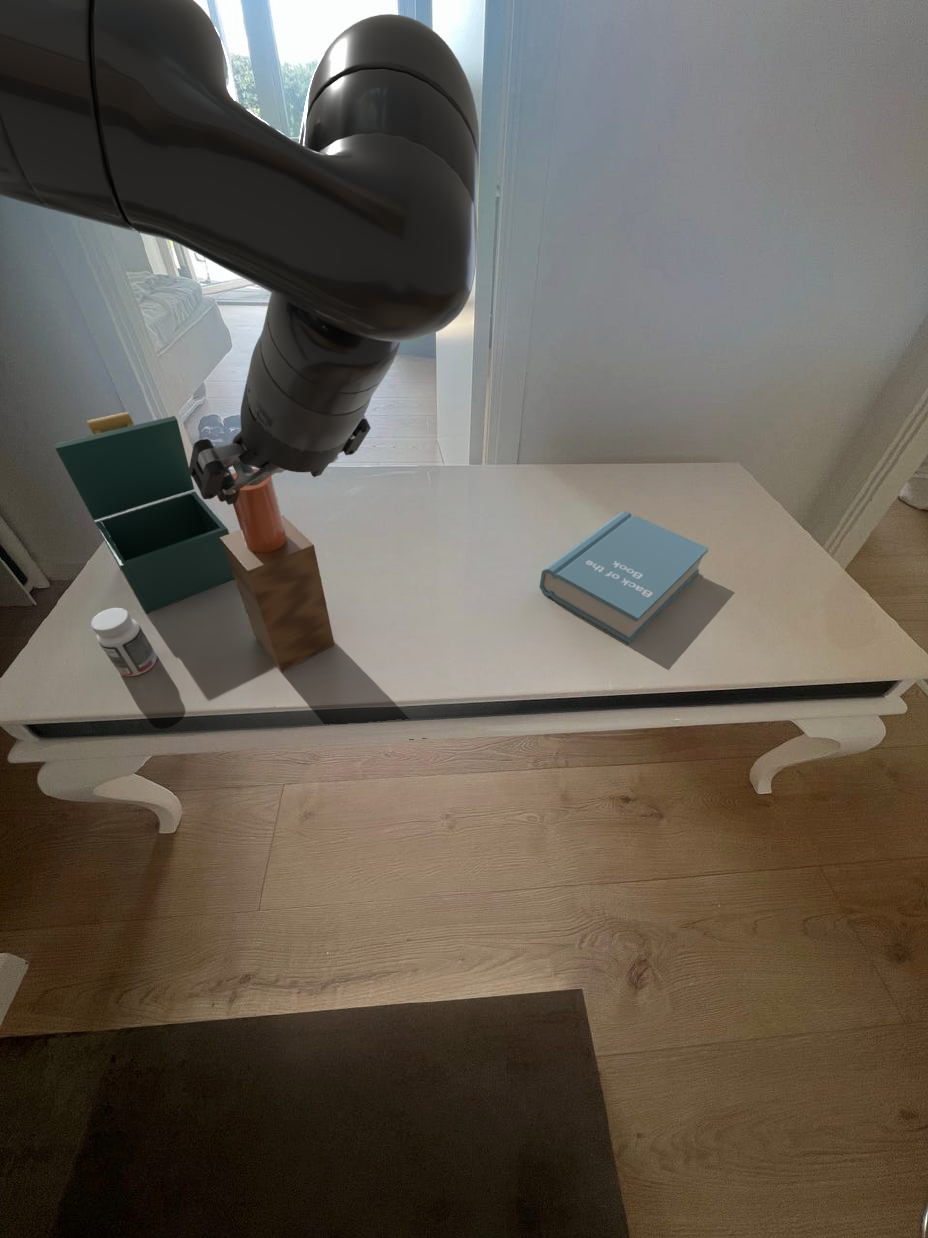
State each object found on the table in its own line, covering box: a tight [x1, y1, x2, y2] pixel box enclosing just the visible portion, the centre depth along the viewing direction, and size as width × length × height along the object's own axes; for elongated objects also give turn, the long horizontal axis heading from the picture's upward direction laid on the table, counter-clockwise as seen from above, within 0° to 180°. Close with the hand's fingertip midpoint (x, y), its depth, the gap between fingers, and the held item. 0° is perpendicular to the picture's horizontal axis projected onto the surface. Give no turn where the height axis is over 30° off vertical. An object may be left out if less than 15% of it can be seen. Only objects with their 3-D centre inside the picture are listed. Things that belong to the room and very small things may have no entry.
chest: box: [93, 490, 235, 615], centre depth 80 cm, size 14×15×9 cm
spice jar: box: [231, 468, 287, 553], centre depth 58 cm, size 5×5×8 cm
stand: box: [220, 514, 335, 673], centre depth 67 cm, size 8×8×17 cm
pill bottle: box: [90, 607, 158, 677], centre depth 66 cm, size 5×5×8 cm
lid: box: [52, 411, 195, 521], centre depth 74 cm, size 14×15×5 cm
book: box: [538, 510, 710, 644], centre depth 82 cm, size 23×16×5 cm
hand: (270, 480), depth 50 cm, fingers open, 8 cm apart
